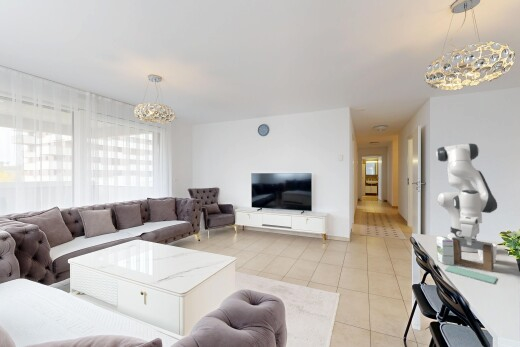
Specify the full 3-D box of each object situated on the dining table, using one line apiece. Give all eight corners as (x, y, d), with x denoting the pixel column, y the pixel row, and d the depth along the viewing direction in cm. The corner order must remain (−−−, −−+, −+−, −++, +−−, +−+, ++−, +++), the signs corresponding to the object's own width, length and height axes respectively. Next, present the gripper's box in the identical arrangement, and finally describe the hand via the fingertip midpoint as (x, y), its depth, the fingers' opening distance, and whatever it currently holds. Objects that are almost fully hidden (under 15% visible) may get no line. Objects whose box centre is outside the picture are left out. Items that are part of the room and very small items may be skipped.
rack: (455, 259, 131) (454, 237, 131) (493, 268, 118) (493, 244, 118) (451, 262, 127) (451, 240, 127) (491, 271, 114) (490, 247, 114)
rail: (453, 243, 130) (453, 236, 130) (492, 250, 117) (492, 243, 117) (452, 244, 128) (452, 237, 128) (491, 252, 115) (491, 244, 115)
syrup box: (454, 265, 123) (454, 239, 123) (442, 264, 124) (442, 239, 124) (448, 261, 129) (447, 236, 129) (436, 260, 130) (436, 236, 130)
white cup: (493, 264, 122) (492, 247, 123) (474, 259, 130) (474, 243, 130) (499, 262, 126) (499, 245, 126) (481, 257, 133) (481, 241, 133)
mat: (449, 266, 121) (449, 265, 121) (497, 278, 107) (497, 277, 107) (444, 270, 116) (444, 269, 116) (493, 284, 102) (493, 282, 102)
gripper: (467, 215, 131) (468, 238, 131) (458, 220, 119) (459, 245, 119) (482, 217, 126) (483, 241, 126) (474, 221, 114) (475, 248, 114)
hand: (471, 243), depth 122 cm, fingers open, 8 cm apart
